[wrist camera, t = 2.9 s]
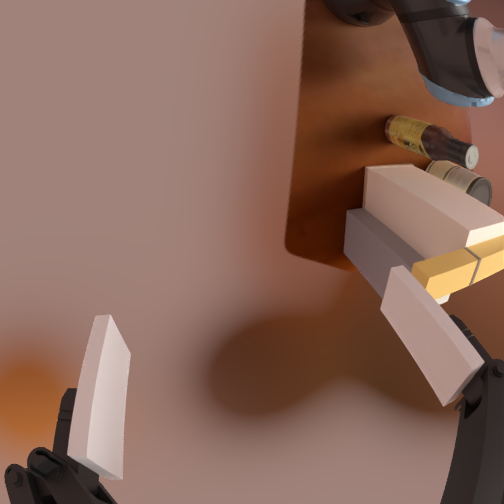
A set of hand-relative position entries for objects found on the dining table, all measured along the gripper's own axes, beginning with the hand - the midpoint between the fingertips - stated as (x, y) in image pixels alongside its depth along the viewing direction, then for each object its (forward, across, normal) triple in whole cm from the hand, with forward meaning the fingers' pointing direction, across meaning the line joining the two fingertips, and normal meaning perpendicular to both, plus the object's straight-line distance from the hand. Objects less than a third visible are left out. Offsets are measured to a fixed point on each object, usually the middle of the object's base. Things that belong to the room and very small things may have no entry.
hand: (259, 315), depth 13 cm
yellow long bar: (+12, +32, -11) cm, 36 cm away
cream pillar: (+39, +35, -11) cm, 54 cm away
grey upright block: (+39, +31, -20) cm, 54 cm away
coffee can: (+40, +50, -10) cm, 65 cm away
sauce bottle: (+40, +36, +1) cm, 53 cm away
